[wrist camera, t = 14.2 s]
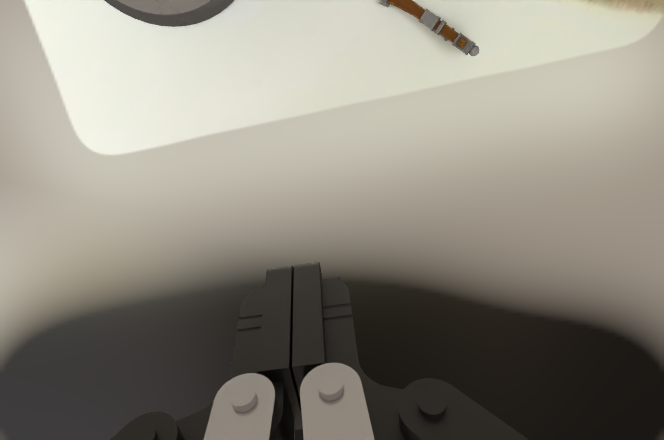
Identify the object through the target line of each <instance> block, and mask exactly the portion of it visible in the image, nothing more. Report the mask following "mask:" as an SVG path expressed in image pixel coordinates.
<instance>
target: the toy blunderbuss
mask: <svg viewBox="0 0 664 440" xmlns="http://www.w3.org/2000/svg"><path fill="white" fill-rule="evenodd" d="M379 3H381V4H383V5H385V6H387V7H389V5H390V4H391V5H394V6H396V7H398V8H400V9H402V10H404V11H406V12H408V13H410V14H412V15H413V16H415V17H417V18H418V19H420V20H419V22H421V23H423V24H425V25H426V26H428V27H429V28H430V29H431V30H432V31H433V29H434V30H435V33H437V34H438V35H439V34H440V35H441V36H443V37H445V41H447V40H450V41H451V42H453V44H452V45H454V46H456V47H457V48H458V49H460V50H461V51H463V52H464V53H465V54H466V55H468V53H469V54H470V55H471V56H476V55H477V54H478V53H479V48H478V46H475V44H476V43H474V42H472V41H471V40H469V39H468V38H466V37H465V36H463V35H462V34H461V33H460V34H458V33H457V32H455V31H454V28H452V29H451V28H450V27H449V26H447V25H446V22H445V21H444V20H442V21H440V19H441V18H440V17H438V16H436V15H434V14H433V13H431V12H430V11H429V10H428V9H426V10H424V9H423V8H422V7H420V6H419V5H417V4H416V3H415V2H414V1H412V0H380V2H379Z"/></svg>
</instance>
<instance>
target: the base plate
mask: <svg viewBox="0 0 664 440" xmlns="http://www.w3.org/2000/svg"><path fill="white" fill-rule="evenodd" d="M105 1H106V2H107V3H109V4H110V5H111V6H113V7H115V8H116V9H118V10H119V11H121V12H123V13H125V14H127V15H129V16H131V17H133V18H135V19H138V20H141V21H144V22H147V23H151V24H156V25H160V26H173V27H174V26H187V25H191V24H196V23H199V22H202V21H205V20H207V19H210V18H211V17H213V16H215V15H217V14H218V13H220V12H221V11H222V10H224V9H225V8H226V7H228V6H229V5H230V4H231V3H232V2H233V1H234V0H210V1H209V2H207V3H206V4H204V5H202V6H201V7H199V8H196V9H194V10H191V11H189V12H185V13H180V14H172V15H160V14H152V13H147V12H143V11H140V10H137V9H134V8H131V7H129V6H127V5H125V4H123V3H121V2H119V1H117V0H105Z"/></svg>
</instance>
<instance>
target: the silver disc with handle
mask: <svg viewBox="0 0 664 440" xmlns="http://www.w3.org/2000/svg"><path fill="white" fill-rule="evenodd" d="M117 1H119V2H121V3H123V4H125V5H127V6H129V7H131V8H134V9H137V10H140V11H143V12H147V13H152V14H160V15H172V14H180V13H185V12H189V11H191V10H194V9H196V8H199V7H201V6H202V5H204V4H206V3H207V2H209V1H210V0H117Z"/></svg>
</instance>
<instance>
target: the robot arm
mask: <svg viewBox="0 0 664 440" xmlns="http://www.w3.org/2000/svg"><path fill="white" fill-rule="evenodd" d="M239 319H240V320H239V322H238V328H237V331H238V332H237V334H236V341H235V347H234V353H233V359H232V365H231V372H230V377H229V381H228V382H227V383H225V384H224V385H223V386H222V388H221V389H220V390H219V392H218V393H217V395H216V397H215V399H214V402H213V403H212V404H211V405H209V406H208V407H206V408H204V409H202V410H201V411H199V412H196V413H194V414H191V415H189V416H187V417H184V418H182V419H180V420H177V421H175V420H174V419H173V417H171V416H170V415H168V414H167V413H164V412H151V413H146V414H144V415H141V416H139V417H137V418H135V419H134V420H132V421H131V422H130V423H128V424H127V425H126V426H125V427H124V428H123V429H122V430H120V431H119V432H118V433H117V434H116V435H115V436H114V437H113V438H112V439H111V440H294V430H299V429H303V435H304V440H528V439H527V438H525V437H524V436H522V435H521V434H519V433H518V432H517V431H515V430H514V429H512V428H511V427H509V426H508V425H507V424H505V423H504V422H503V421H501V420H500V419H498V418H497V417H495V416H494V415H493V414H491V413H490V412H488V411H487V410H486V409H484V408H483V407H481V406H480V405H479V404H477V403H476V402H474V401H473V400H471V399H470V398H469V397H467V396H466V395H464V394H463V393H461V392H460V391H459V390H457V389H456V388H454V387H453V386H452V385H450V384H448V383H446V382H444V381H442V380H438V379H431V378H429V379H428V378H427V379H420V380H417V381H414V382H412V383H410V384H409V385H408V386H407V387H406V388H405V389H404V390H403V389H397V388H391V387H386V386H382V385H380V384H377V383H375V382H374V381H372V380H371V379H369V378H368V377H367V376H366V375H365V374H364V373H363V371H362V370H361V367H360V365H359V361H358V355H357V347H356V340H355V333H354V325H353V318H352V311H351V304H350V296H349V289H348V288H347V286H346V285H345V284H344V282H343V281H342V280H341V279H340V278H339V277H338V278H331V279H322V273H321V267H320V263H319V262H315V263H307V264H300V265H294V267H293V266H286V267H278V268H270V269H267V273H266V283H265V287H262V288H255V289H251V290H250V291H249V293H248V294H247V295H246V297H245V298H244V300H243V302H242V303H241V309H240V316H239Z"/></svg>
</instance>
